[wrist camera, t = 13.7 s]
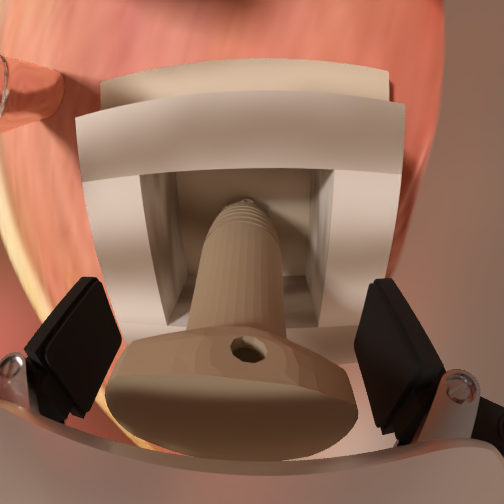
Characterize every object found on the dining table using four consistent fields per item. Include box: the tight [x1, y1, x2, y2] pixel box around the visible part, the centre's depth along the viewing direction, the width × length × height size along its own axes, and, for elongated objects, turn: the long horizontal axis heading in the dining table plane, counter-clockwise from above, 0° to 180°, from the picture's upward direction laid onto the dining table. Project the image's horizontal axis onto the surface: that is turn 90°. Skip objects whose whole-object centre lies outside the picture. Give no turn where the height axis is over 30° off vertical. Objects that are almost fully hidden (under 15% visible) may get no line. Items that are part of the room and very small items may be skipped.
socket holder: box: [75, 58, 405, 364], centre depth 17 cm, size 22×20×7 cm
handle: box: [105, 197, 358, 462], centre depth 13 cm, size 5×6×15 cm
